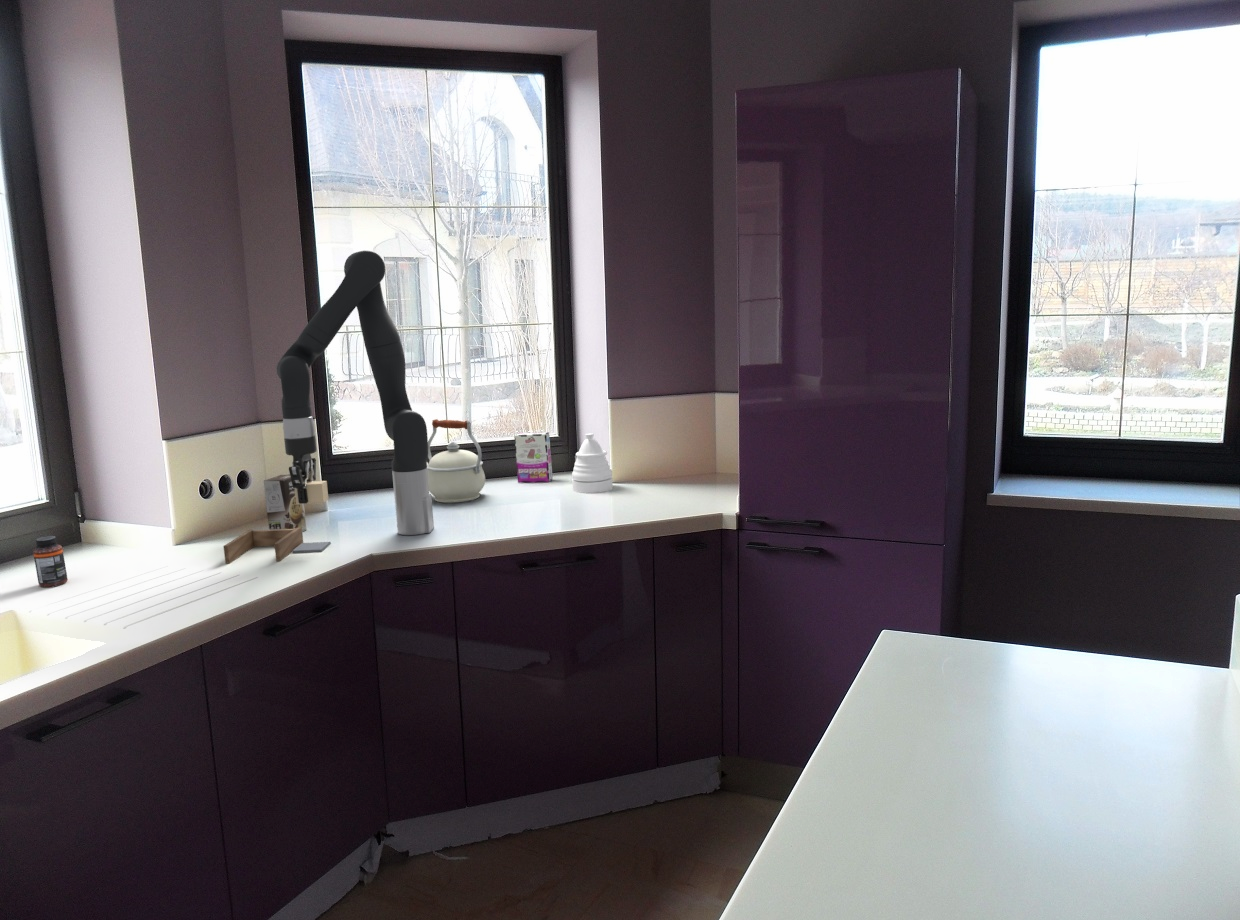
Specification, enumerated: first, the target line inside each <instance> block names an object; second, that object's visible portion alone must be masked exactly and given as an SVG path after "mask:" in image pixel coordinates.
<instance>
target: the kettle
mask: <svg viewBox="0 0 1240 920" xmlns="http://www.w3.org/2000/svg"><path fill="white" fill-rule="evenodd" d="M431 425H432V434H431V435H430V437H429V439H428V460H429V462H428V461H427V474H428V485H429V494H431V496H432V495H433V497H434V498H433V499H434V501H436V502H438V503H445V504H451V503H452V504H453V503H454V504H456V503H457V504H458V503H465V502H470V501H474V500H476V499H479V497H480V496H481V494H480V492H481V491H482V490H483V489H484V487H485V485H486V474H485V472H484V469H483V467H482V465H483V464H484V462H483V461H482V448H481V446H480V444H479V442H478V441H477V439H476V438H475V437H474V435H473V434H472V428H471V426H472V424H471V421H470V420H465V421H463V420H454V419H453V420H452V419H444V420H443V419H441V420H439V419H438V418H436V419H432V423H431ZM438 428H442V429H443V428H444V429H456V430H459V429H464V430H466V431H467V434H468V437H469V438H470V440H471V441H472V443H473V444H474V446H475V447H476V449H477V450H476V451H477V454H476V453H474V452H472V451H470V450H466V449H459V448H460V445H459V444H458V443H456V442H454V441H452V442H451V443H449V444H448V445H447V446H446V448H447V450H445V451H444V450H443V451H441V452H439V453H436V454H435V455H433V456H432V453H431V445H432V441H433V440H434V438H435V436H436V434H437V429H438Z"/></svg>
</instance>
